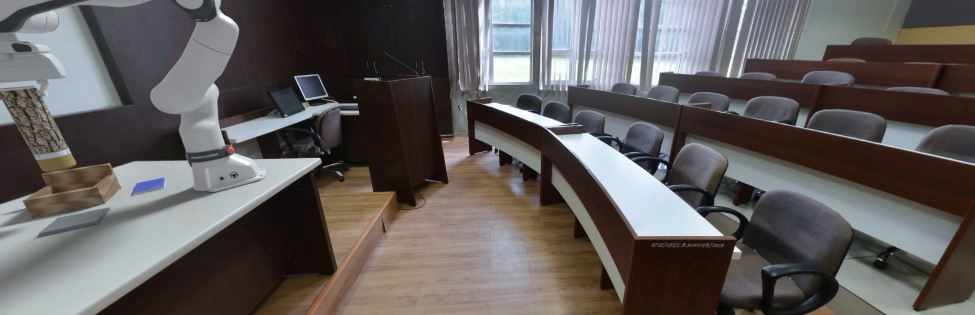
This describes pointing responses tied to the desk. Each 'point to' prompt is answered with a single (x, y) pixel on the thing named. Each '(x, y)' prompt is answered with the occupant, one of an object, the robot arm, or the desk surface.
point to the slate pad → (75, 221)
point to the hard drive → (149, 186)
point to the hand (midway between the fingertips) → (22, 98)
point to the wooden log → (37, 127)
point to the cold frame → (73, 190)
